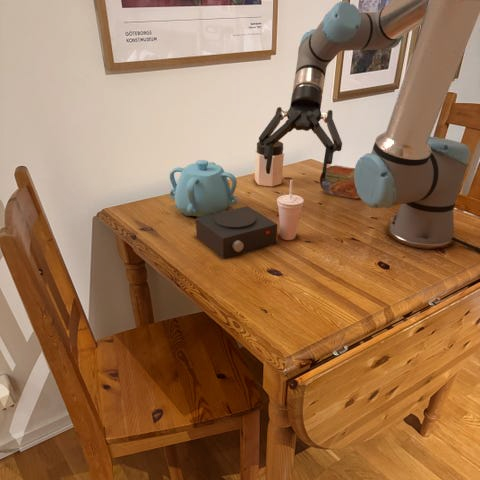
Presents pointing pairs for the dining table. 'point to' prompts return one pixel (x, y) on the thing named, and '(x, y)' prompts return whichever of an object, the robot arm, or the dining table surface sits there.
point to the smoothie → (289, 214)
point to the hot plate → (236, 231)
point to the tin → (339, 182)
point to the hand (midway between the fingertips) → (295, 173)
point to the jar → (276, 166)
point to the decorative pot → (202, 189)
